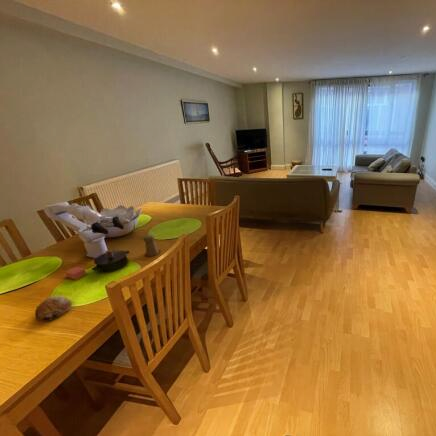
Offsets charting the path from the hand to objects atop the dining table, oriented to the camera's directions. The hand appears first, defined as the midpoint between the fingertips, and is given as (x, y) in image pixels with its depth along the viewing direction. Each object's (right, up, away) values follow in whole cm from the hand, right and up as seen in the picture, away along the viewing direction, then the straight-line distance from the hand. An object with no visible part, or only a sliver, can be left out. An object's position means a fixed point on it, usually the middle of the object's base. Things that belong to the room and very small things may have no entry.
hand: (115, 229), depth 119 cm
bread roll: (-4, -31, -26) cm, 41 cm away
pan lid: (-4, -14, +2) cm, 15 cm away
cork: (+10, -14, +15) cm, 23 cm away
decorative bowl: (-25, -5, +38) cm, 46 cm away
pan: (-4, -19, +4) cm, 19 cm away
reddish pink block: (-15, -22, -4) cm, 27 cm away
